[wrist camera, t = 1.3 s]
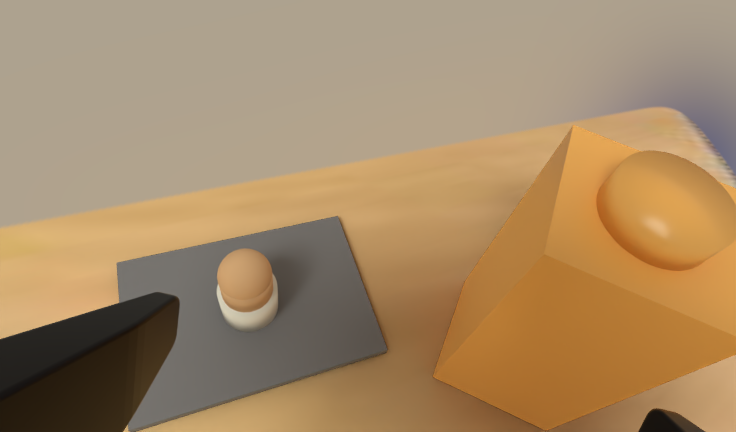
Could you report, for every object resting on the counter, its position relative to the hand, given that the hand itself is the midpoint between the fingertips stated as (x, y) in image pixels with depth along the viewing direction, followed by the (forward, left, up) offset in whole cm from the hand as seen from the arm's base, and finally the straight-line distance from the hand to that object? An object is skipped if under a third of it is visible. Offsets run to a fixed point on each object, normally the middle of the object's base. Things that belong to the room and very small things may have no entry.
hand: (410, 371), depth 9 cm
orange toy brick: (-1, -10, -15) cm, 18 cm away
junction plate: (+9, -1, -15) cm, 17 cm away
